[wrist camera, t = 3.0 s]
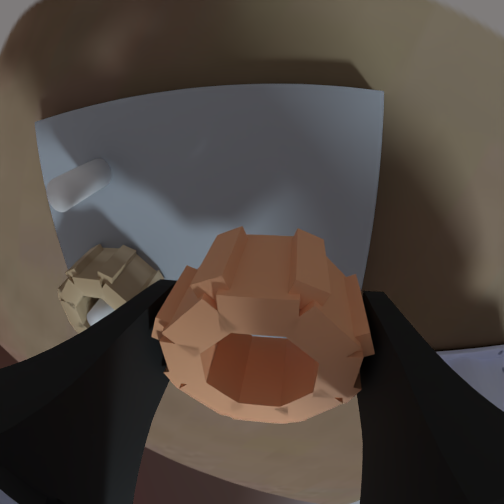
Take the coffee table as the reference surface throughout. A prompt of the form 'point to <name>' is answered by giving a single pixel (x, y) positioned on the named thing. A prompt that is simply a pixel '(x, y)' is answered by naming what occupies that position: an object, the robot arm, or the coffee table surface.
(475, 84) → the coffee table surface
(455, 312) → the coffee table surface
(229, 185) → the gear board
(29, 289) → the coffee table surface
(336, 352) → the gear
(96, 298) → the gear
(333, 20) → the coffee table surface
